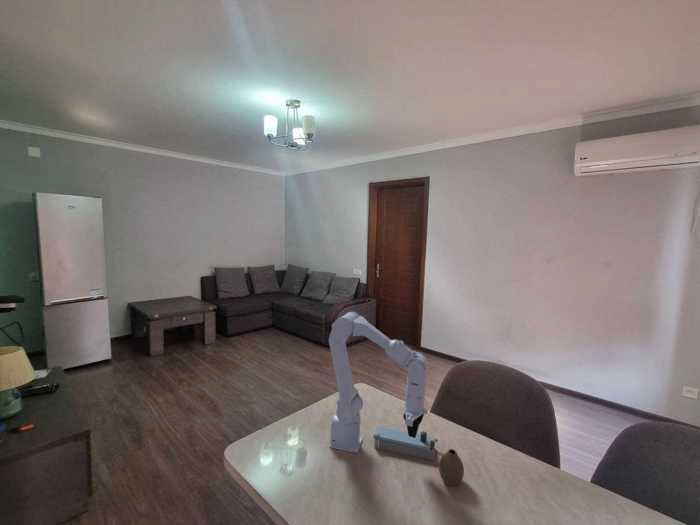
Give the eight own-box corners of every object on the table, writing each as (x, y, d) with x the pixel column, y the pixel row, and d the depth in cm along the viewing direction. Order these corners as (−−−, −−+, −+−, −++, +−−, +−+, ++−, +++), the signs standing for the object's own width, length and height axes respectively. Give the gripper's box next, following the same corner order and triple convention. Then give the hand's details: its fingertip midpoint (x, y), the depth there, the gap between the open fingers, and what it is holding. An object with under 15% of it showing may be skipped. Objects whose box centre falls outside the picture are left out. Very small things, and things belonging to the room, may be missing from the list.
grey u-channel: (373, 447, 104) (374, 437, 104) (377, 436, 111) (377, 426, 110) (436, 461, 99) (437, 450, 99) (436, 448, 105) (437, 437, 105)
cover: (372, 439, 104) (373, 429, 104) (376, 428, 110) (377, 418, 110) (429, 452, 99) (430, 441, 99) (430, 439, 105) (431, 429, 105)
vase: (464, 492, 88) (466, 462, 87) (438, 486, 89) (440, 457, 88) (461, 474, 94) (463, 446, 94) (437, 469, 96) (439, 442, 95)
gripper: (424, 408, 89) (420, 454, 90) (432, 387, 102) (429, 427, 103) (399, 402, 92) (396, 446, 93) (410, 382, 105) (407, 421, 106)
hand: (412, 435), depth 98 cm, fingers closed
